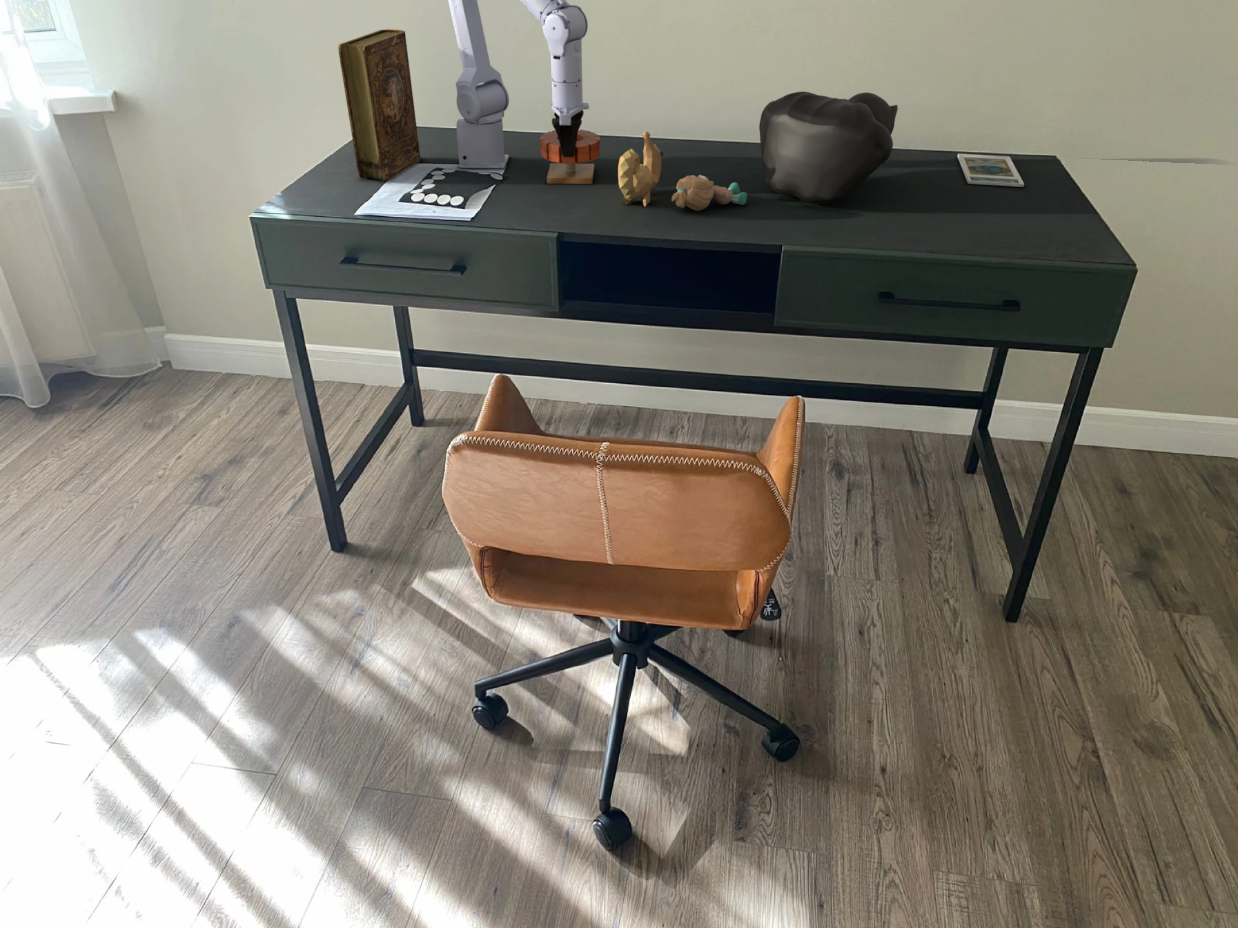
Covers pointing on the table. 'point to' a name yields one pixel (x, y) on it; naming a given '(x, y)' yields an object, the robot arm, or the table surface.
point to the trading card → (990, 170)
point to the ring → (584, 147)
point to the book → (380, 103)
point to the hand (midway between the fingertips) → (568, 153)
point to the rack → (570, 173)
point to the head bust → (824, 143)
